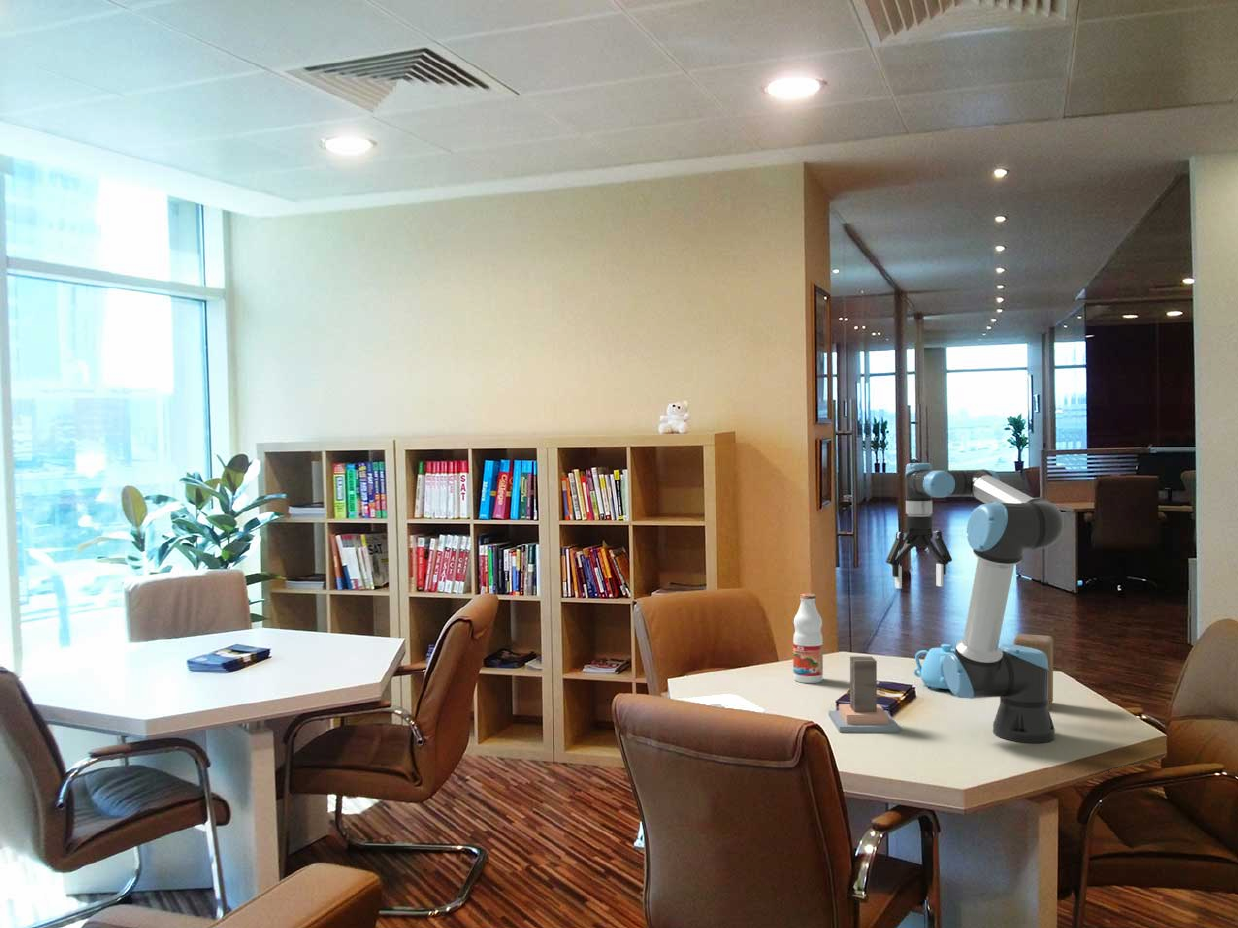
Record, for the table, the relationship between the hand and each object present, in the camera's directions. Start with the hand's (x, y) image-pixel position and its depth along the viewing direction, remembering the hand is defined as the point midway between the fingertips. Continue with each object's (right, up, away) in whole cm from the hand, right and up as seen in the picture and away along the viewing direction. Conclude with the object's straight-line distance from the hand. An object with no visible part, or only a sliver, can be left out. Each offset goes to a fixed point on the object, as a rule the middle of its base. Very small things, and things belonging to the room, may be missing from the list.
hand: (919, 587), depth 294 cm
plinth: (-21, -35, -20) cm, 46 cm away
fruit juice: (-27, -34, +30) cm, 53 cm away
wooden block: (+33, -35, -2) cm, 48 cm away
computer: (-61, -36, -8) cm, 71 cm away
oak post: (-21, -31, -20) cm, 43 cm away
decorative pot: (+14, -34, +20) cm, 42 cm away
